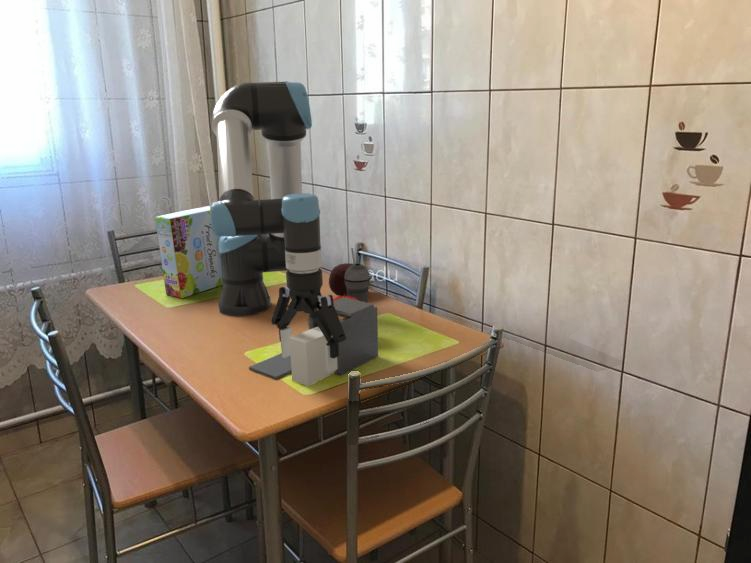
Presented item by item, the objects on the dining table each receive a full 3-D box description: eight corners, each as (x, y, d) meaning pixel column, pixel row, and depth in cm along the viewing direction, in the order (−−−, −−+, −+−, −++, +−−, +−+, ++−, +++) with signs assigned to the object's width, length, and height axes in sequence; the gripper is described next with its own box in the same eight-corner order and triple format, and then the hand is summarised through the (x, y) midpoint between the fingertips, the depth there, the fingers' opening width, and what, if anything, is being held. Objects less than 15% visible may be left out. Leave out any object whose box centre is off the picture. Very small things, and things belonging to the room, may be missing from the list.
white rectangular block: (292, 380, 137) (289, 337, 134) (335, 359, 147) (333, 319, 144) (308, 386, 134) (305, 342, 131) (351, 365, 144) (350, 324, 141)
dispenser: (311, 365, 144) (308, 310, 140) (349, 347, 154) (347, 295, 150) (340, 375, 138) (338, 318, 134) (378, 356, 148) (377, 303, 144)
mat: (249, 369, 142) (248, 366, 142) (299, 347, 154) (299, 345, 154) (275, 379, 137) (275, 377, 137) (326, 356, 149) (326, 354, 149)
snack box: (216, 278, 216) (209, 204, 209) (233, 282, 211) (227, 206, 204) (163, 294, 199) (153, 215, 192) (180, 299, 194) (171, 217, 187)
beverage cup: (368, 323, 170) (366, 251, 164) (342, 321, 172) (339, 251, 166) (373, 314, 177) (372, 245, 171) (348, 313, 178) (346, 244, 173)
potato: (376, 295, 194) (375, 263, 191) (339, 304, 186) (338, 270, 184) (357, 287, 202) (356, 256, 199) (321, 295, 195) (320, 263, 192)
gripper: (250, 264, 135) (258, 355, 141) (335, 282, 120) (339, 384, 126) (276, 257, 141) (282, 345, 147) (361, 274, 125) (363, 371, 131)
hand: (309, 363), depth 136 cm, fingers open, 13 cm apart
